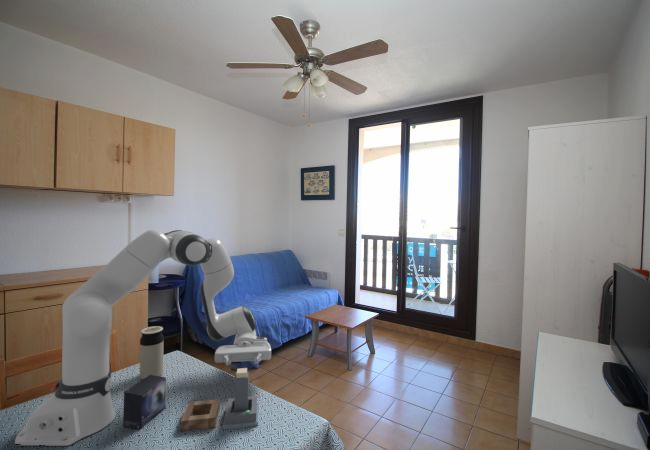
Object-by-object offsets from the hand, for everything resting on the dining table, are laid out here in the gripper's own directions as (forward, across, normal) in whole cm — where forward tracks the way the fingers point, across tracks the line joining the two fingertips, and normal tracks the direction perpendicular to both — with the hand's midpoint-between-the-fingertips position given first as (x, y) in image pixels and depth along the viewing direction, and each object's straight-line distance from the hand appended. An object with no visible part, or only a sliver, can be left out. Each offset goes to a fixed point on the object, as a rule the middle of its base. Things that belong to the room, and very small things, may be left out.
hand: (242, 362), depth 107 cm
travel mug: (-20, -35, +12) cm, 42 cm away
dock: (+12, +1, +12) cm, 17 cm away
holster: (+11, -11, +12) cm, 20 cm away
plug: (+12, +1, +10) cm, 16 cm away
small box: (+7, -28, +12) cm, 31 cm away
